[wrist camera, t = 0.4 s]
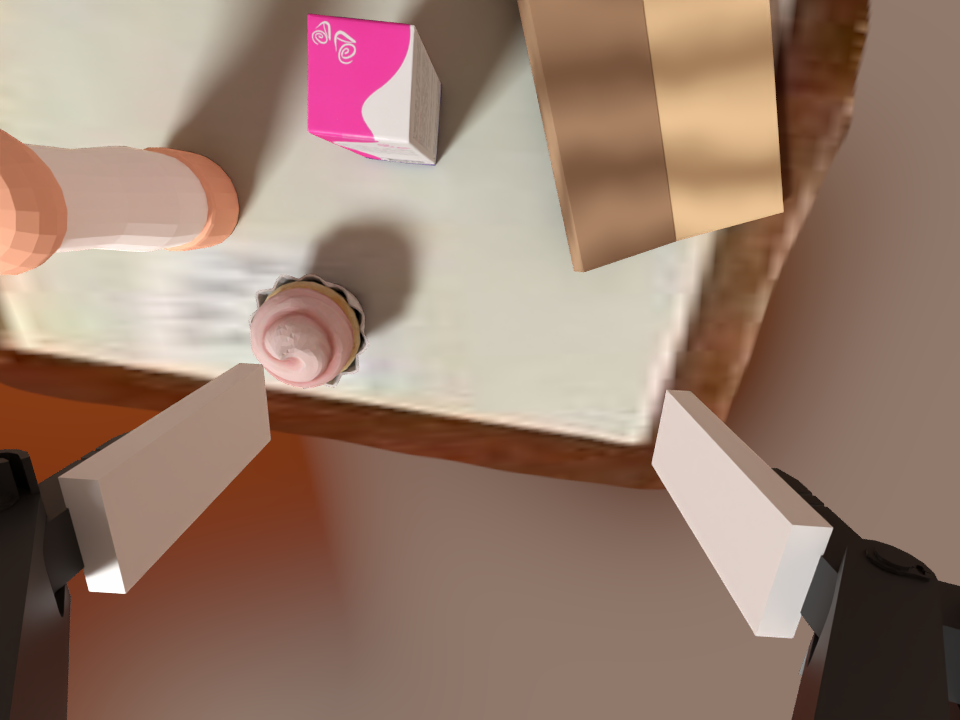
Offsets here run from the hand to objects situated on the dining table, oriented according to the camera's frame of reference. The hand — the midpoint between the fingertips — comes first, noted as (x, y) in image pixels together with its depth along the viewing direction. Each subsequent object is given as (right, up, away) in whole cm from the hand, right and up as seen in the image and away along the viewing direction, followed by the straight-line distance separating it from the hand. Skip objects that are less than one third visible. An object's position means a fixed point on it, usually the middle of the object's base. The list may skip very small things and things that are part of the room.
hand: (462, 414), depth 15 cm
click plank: (+8, +21, +17) cm, 28 cm away
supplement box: (-5, +20, +20) cm, 29 cm away
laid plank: (+16, +23, +18) cm, 34 cm away
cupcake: (-12, +5, +25) cm, 29 cm away
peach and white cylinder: (-22, +15, +22) cm, 35 cm away
